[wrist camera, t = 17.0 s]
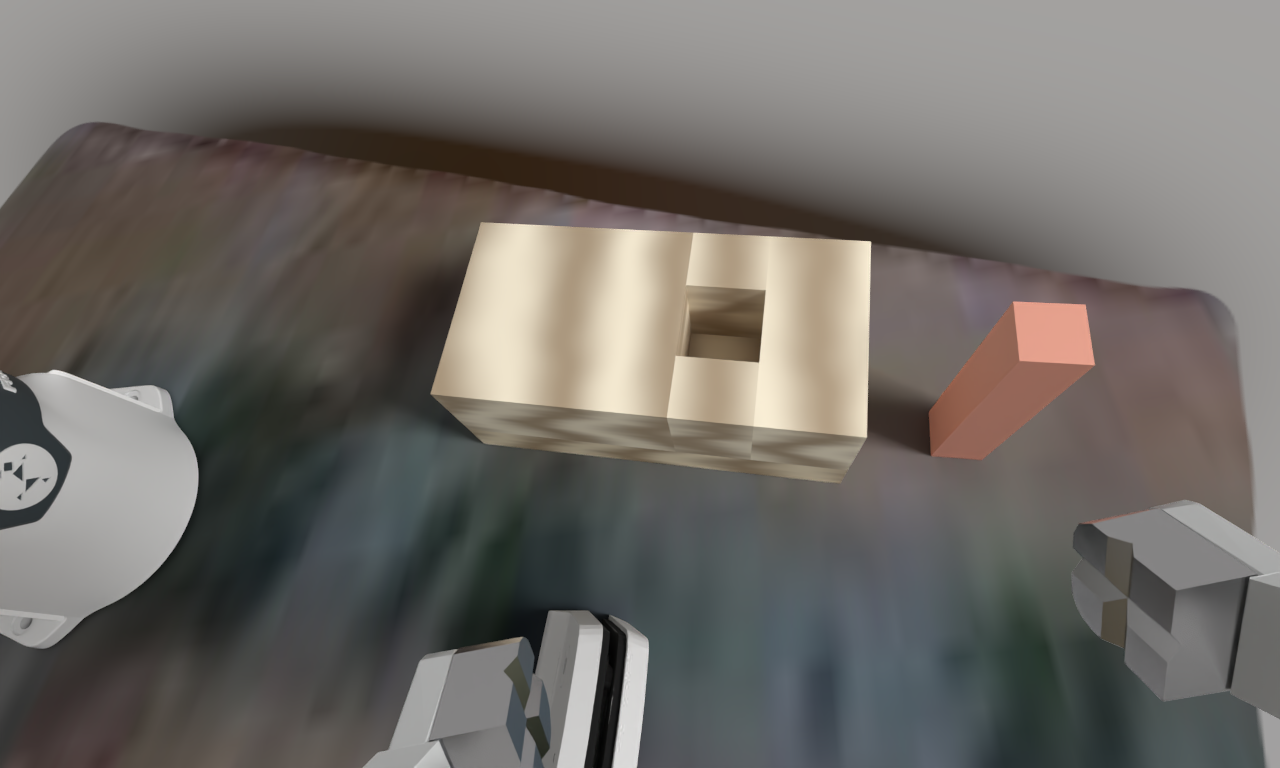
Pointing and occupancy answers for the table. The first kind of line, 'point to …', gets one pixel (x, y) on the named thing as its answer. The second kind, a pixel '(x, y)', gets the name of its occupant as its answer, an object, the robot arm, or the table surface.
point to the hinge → (593, 690)
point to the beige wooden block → (664, 347)
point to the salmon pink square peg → (1011, 378)
